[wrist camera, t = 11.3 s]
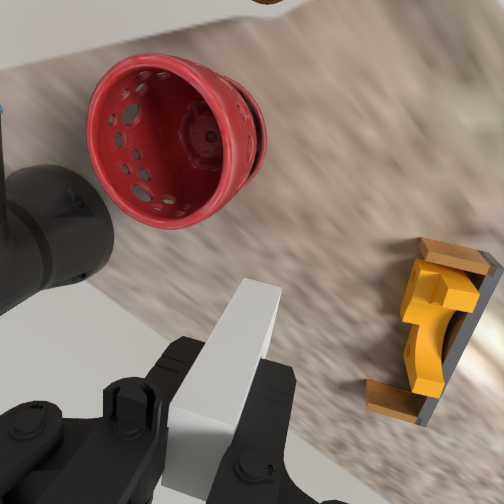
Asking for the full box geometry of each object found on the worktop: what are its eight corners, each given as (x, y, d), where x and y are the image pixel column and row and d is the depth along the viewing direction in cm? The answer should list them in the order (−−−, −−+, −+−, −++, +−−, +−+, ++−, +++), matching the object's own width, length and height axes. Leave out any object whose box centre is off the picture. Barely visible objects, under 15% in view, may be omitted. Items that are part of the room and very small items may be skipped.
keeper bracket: (364, 385, 46) (366, 409, 42) (421, 237, 38) (429, 251, 34) (419, 401, 45) (425, 427, 41) (489, 252, 37) (504, 268, 33)
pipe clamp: (415, 257, 39) (427, 284, 33) (458, 265, 38) (480, 294, 32) (387, 350, 43) (394, 388, 38) (425, 358, 43) (439, 398, 37)
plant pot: (296, 93, 34) (260, 97, 24) (249, 213, 41) (204, 258, 30) (175, 40, 36) (90, 22, 25) (148, 165, 42) (71, 191, 32)
